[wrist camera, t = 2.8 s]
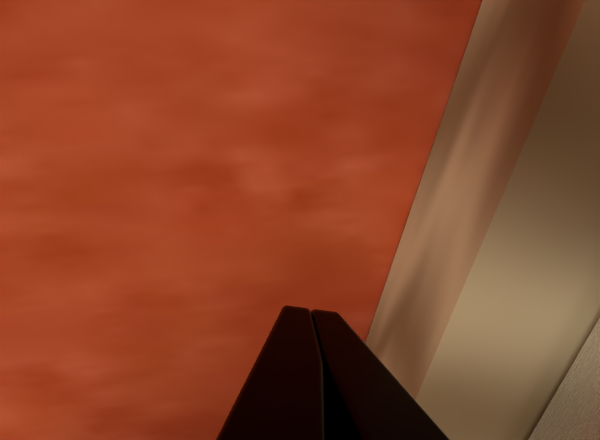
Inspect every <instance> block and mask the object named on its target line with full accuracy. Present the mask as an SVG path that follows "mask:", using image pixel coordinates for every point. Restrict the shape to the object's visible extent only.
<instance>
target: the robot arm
mask: <svg viewBox="0 0 600 440" xmlns="http://www.w3.org/2000/svg"><path fill="white" fill-rule="evenodd" d="M216 440H450V439H449V438H448V437H447V436H446V435H445V434H444V432H443V431H442V430H441V429H440V428H439V427H438V426H437V424H436V423H435V422H434V421H433V420H432V419H431V418H430V416H429V415H428V414H427V413H426V412H425V411H424V410H423V409H422V407H421V406H420V405H419V404H418V403H417V402H416V401H415V399H414V398H413V397H412V396H411V395H410V394H409V393H408V392H407V390H406V389H405V388H404V387H403V386H402V385H401V384H400V382H399V381H398V380H397V379H396V378H395V377H394V376H393V375H392V373H391V372H390V371H389V370H388V369H387V368H386V367H385V365H384V364H383V363H382V362H381V361H380V360H379V359H378V357H377V356H376V355H375V354H374V353H373V352H372V351H371V350H370V348H369V347H368V346H367V345H366V344H365V343H364V342H363V340H362V339H361V338H360V337H359V336H358V335H357V334H356V333H355V331H354V330H353V329H352V328H351V327H350V326H349V325H348V323H347V322H346V321H345V320H344V319H343V318H342V317H341V316H340V315H339V314H338V313H337V312H332V311H324V310H316V309H315V310H312V311H311V312H310V310H309V309H307V308H301V307H293V306H284V307H283V308H282V310H281V312H280V314H279V316H278V318H277V320H276V322H275V324H274V326H273V328H272V330H271V332H270V334H269V336H268V338H267V340H266V342H265V344H264V346H263V348H262V350H261V352H260V354H259V356H258V358H257V360H256V362H255V364H254V366H253V368H252V370H251V371H250V373H249V375H248V377H247V379H246V381H245V383H244V385H243V387H242V389H241V391H240V393H239V395H238V397H237V399H236V401H235V403H234V405H233V407H232V409H231V411H230V413H229V415H228V417H227V419H226V421H225V423H224V425H223V427H222V429H221V431H220V433H219V435H218V437H217V439H216Z"/></svg>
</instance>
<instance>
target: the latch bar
mask: <svg viewBox="0 0 600 440" xmlns="http://www.w3.org/2000/svg"><path fill="white" fill-rule="evenodd" d="M528 440H600V318H599V320H598V321H597V323H596V325H595V326H594V328H593V330H592V332H591V333H590V335H589V337H588V338H587V340H586V342H585V344H584V345H583V347H582V349H581V350H580V352H579V354H578V356H577V357H576V359H575V361H574V362H573V364H572V366H571V368H570V369H569V371H568V373H567V374H566V376H565V378H564V379H563V381H562V383H561V385H560V386H559V388H558V390H557V391H556V393H555V395H554V397H553V398H552V400H551V402H550V403H549V405H548V407H547V409H546V410H545V412H544V414H543V415H542V417H541V419H540V421H539V422H538V424H537V426H536V427H535V429H534V431H533V432H532V434H531V436H530V438H529V439H528Z"/></svg>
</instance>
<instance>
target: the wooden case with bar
mask: <svg viewBox="0 0 600 440" xmlns="http://www.w3.org/2000/svg"><path fill="white" fill-rule="evenodd" d="M599 318H600V0H483V1H482V4H481V6H480V9H479V12H478V15H477V18H476V21H475V24H474V27H473V30H472V33H471V36H470V39H469V41H468V44H467V47H466V50H465V53H464V56H463V59H462V62H461V65H460V68H459V71H458V74H457V76H456V79H455V82H454V85H453V88H452V91H451V94H450V97H449V100H448V103H447V106H446V109H445V112H444V114H443V117H442V120H441V123H440V126H439V129H438V132H437V135H436V138H435V141H434V144H433V147H432V149H431V152H430V155H429V158H428V161H427V164H426V167H425V170H424V173H423V176H422V179H421V182H420V184H419V187H418V190H417V193H416V196H415V199H414V202H413V205H412V208H411V211H410V214H409V217H408V219H407V222H406V225H405V228H404V231H403V234H402V237H401V240H400V243H399V246H398V249H397V252H396V255H395V257H394V260H393V263H392V266H391V269H390V272H389V275H388V278H387V281H386V284H385V287H384V290H383V292H382V295H381V298H380V301H379V304H378V307H377V310H376V313H375V316H374V319H373V322H372V325H371V327H370V330H369V333H368V336H367V339H366V342H365V344H366V345H367V346H368V347H369V348H370V350H371V351H372V352H373V353H374V354H375V355H376V356H377V357H378V359H379V360H380V361H381V362H382V363H383V364H384V365H385V367H386V368H387V369H388V370H389V371H390V372H391V373H392V375H393V376H394V377H395V378H396V379H397V380H398V381H399V382H400V384H401V385H402V386H403V387H404V388H405V389H406V390H407V392H408V393H409V394H410V395H411V396H412V397H413V398H414V399H415V401H416V402H417V403H418V404H419V405H420V406H421V407H422V409H423V410H424V411H425V412H426V413H427V414H428V415H429V416H430V418H431V419H432V420H433V421H434V422H435V423H436V424H437V426H438V427H439V428H440V429H441V430H442V431H443V432H444V434H445V435H446V436H447V437H448V438H449V439H450V440H528V439H529V438H530V436H531V434H532V432H533V431H534V429H535V427H536V426H537V424H538V422H539V421H540V419H541V417H542V415H543V414H544V412H545V410H546V409H547V407H548V405H549V403H550V402H551V400H552V398H553V397H554V395H555V393H556V391H557V390H558V388H559V386H560V385H561V383H562V381H563V379H564V378H565V376H566V374H567V373H568V371H569V369H570V368H571V366H572V364H573V362H574V361H575V359H576V357H577V356H578V354H579V352H580V350H581V349H582V347H583V345H584V344H585V342H586V340H587V338H588V337H589V335H590V333H591V332H592V330H593V328H594V326H595V325H596V323H597V321H598V320H599Z"/></svg>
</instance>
